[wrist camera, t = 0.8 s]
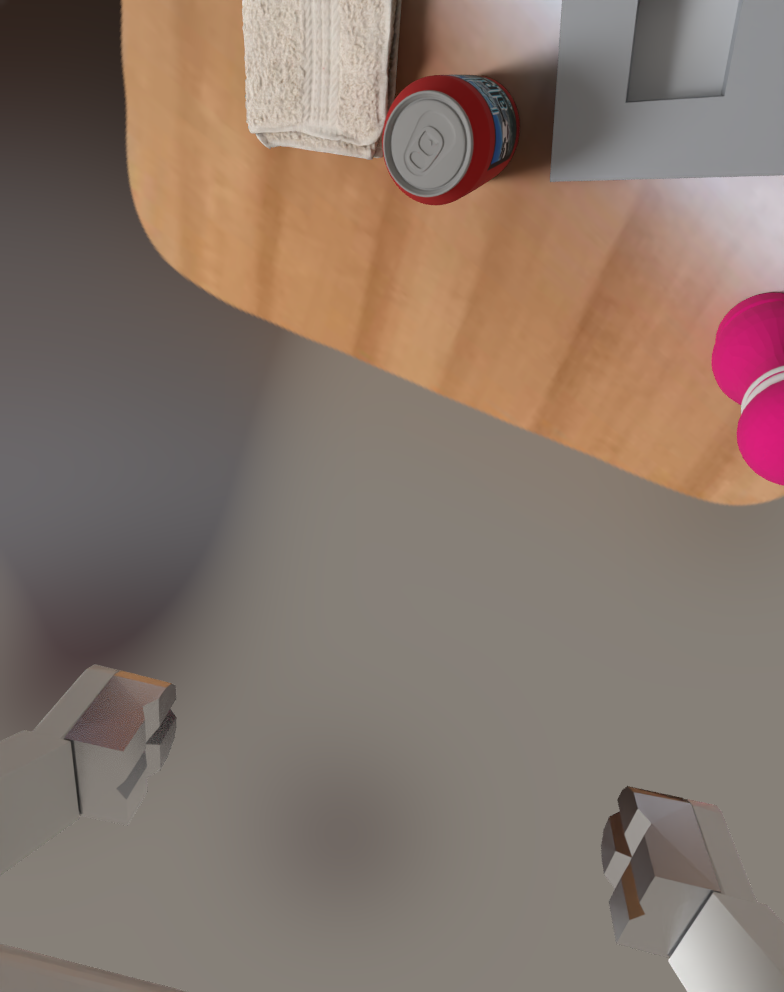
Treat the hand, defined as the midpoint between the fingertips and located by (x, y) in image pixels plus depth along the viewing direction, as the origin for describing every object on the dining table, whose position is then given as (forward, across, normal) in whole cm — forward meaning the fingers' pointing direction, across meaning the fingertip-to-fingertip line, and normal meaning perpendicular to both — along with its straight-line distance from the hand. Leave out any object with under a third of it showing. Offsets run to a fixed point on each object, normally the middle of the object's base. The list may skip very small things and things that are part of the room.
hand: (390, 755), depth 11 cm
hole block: (+41, -10, -19) cm, 46 cm away
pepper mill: (+42, -22, -4) cm, 47 cm away
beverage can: (+44, +2, -13) cm, 46 cm away
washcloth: (+46, +14, -19) cm, 52 cm away
